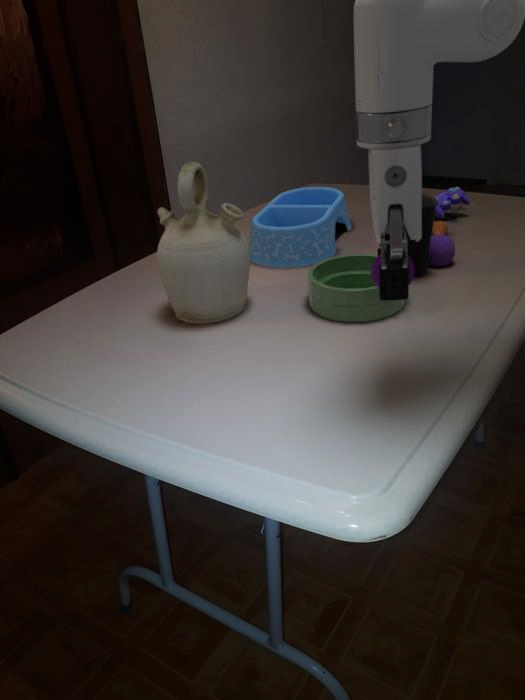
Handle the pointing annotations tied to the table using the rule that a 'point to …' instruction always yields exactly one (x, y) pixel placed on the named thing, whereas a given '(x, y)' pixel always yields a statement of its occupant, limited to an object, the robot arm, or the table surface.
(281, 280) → the table surface
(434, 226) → the maraca
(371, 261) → the bowl
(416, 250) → the drinking cup
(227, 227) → the jug
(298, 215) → the dog bowl
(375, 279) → the ball
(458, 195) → the game controller
